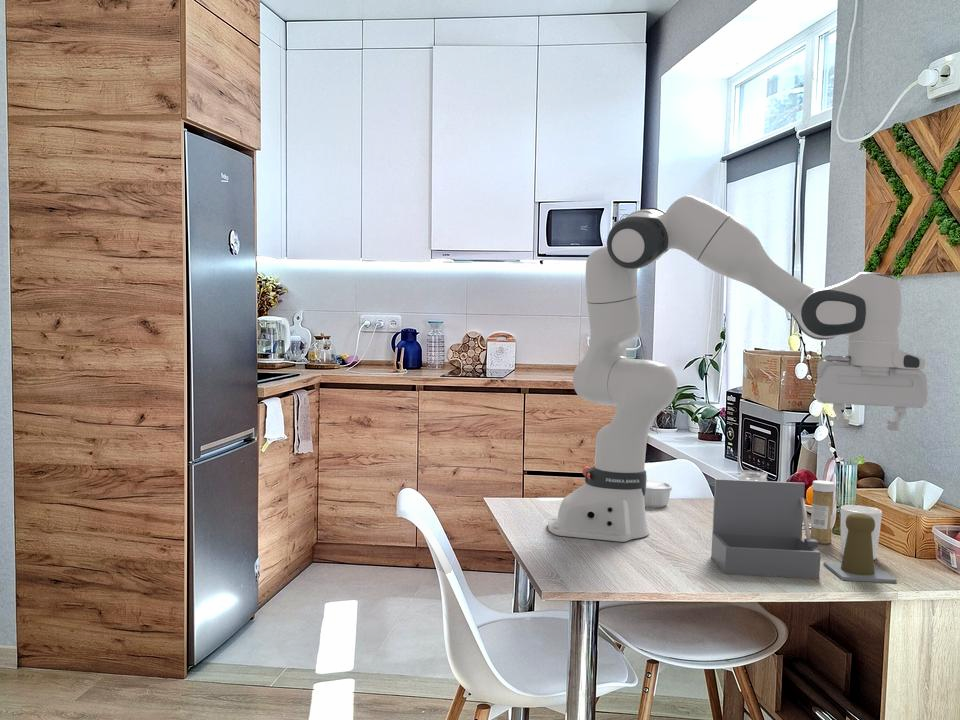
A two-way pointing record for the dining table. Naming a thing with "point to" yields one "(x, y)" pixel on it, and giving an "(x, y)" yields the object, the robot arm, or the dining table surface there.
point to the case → (762, 529)
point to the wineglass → (752, 475)
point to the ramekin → (656, 494)
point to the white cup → (852, 509)
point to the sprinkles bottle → (822, 511)
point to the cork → (859, 545)
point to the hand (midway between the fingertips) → (867, 429)
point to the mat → (877, 577)
